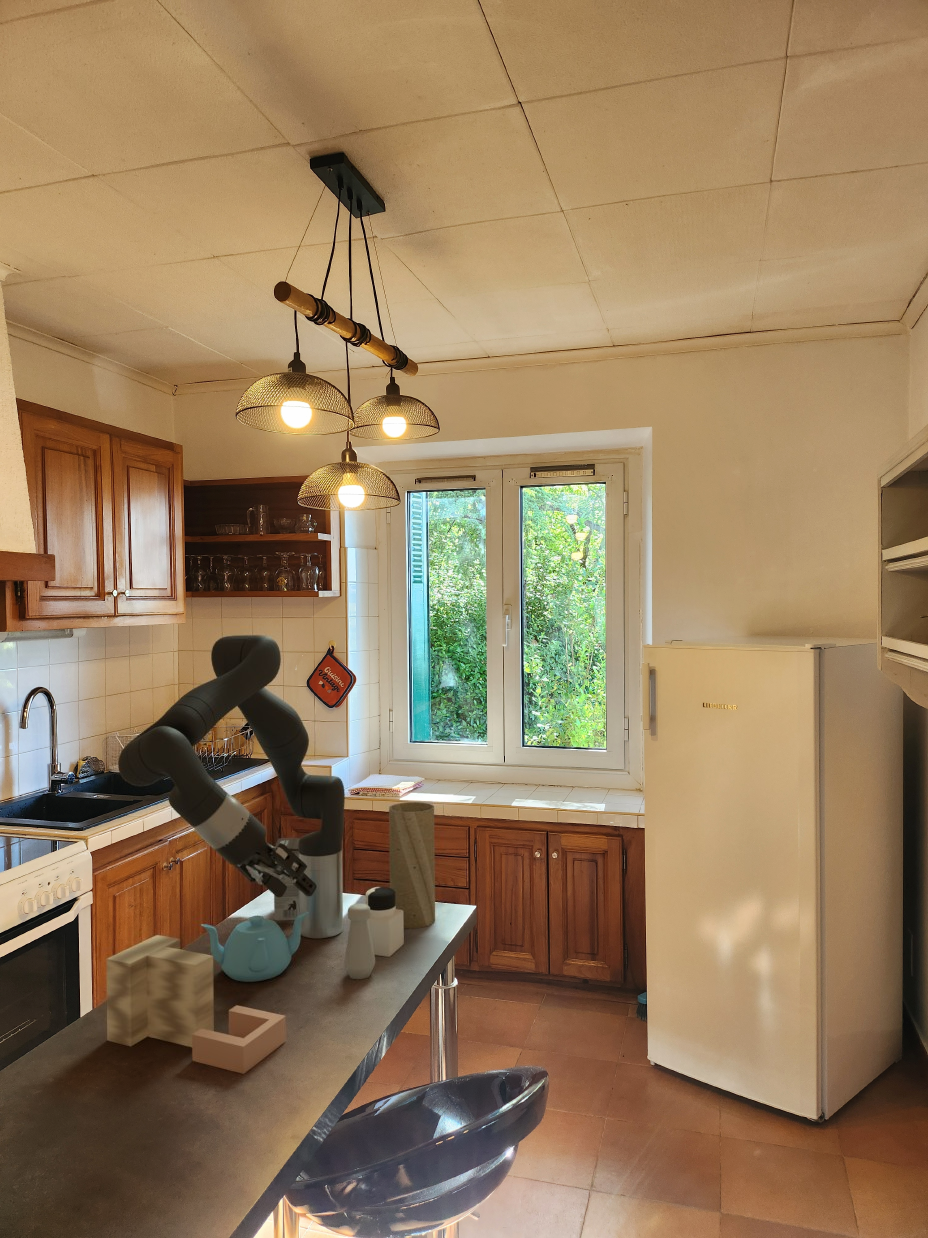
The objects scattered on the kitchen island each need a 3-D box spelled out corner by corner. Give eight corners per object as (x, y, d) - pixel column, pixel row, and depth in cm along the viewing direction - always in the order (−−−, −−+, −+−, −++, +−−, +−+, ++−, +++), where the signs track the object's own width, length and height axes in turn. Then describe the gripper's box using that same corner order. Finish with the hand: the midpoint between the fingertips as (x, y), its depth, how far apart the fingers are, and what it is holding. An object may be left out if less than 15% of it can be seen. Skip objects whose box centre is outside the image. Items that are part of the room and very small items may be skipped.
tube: (384, 916, 189) (382, 805, 189) (425, 909, 193) (424, 800, 193) (399, 931, 180) (398, 814, 180) (442, 924, 184) (441, 809, 184)
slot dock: (192, 1061, 128) (192, 1034, 128) (236, 1030, 138) (236, 1005, 138) (243, 1074, 124) (243, 1046, 124) (285, 1041, 134) (285, 1016, 134)
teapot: (254, 951, 171) (253, 900, 171) (314, 964, 164) (313, 911, 164) (200, 978, 158) (199, 923, 158) (262, 994, 151) (261, 936, 151)
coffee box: (278, 907, 196) (278, 837, 196) (306, 906, 197) (306, 837, 197) (273, 921, 187) (272, 848, 187) (302, 920, 188) (301, 847, 188)
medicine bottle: (404, 944, 173) (403, 886, 173) (390, 957, 166) (389, 896, 166) (372, 940, 175) (372, 882, 175) (357, 953, 169) (356, 893, 169)
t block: (107, 1040, 134) (106, 959, 134) (157, 1011, 145) (157, 935, 145) (180, 1059, 128) (179, 974, 128) (228, 1027, 139) (227, 948, 139)
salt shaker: (378, 969, 161) (377, 901, 161) (372, 982, 155) (371, 911, 155) (348, 968, 161) (347, 900, 161) (340, 981, 156) (340, 910, 156)
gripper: (267, 804, 129) (335, 871, 134) (220, 812, 138) (286, 874, 144) (238, 844, 124) (310, 912, 129) (192, 850, 133) (261, 912, 139)
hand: (297, 892), depth 137 cm, fingers open, 8 cm apart
